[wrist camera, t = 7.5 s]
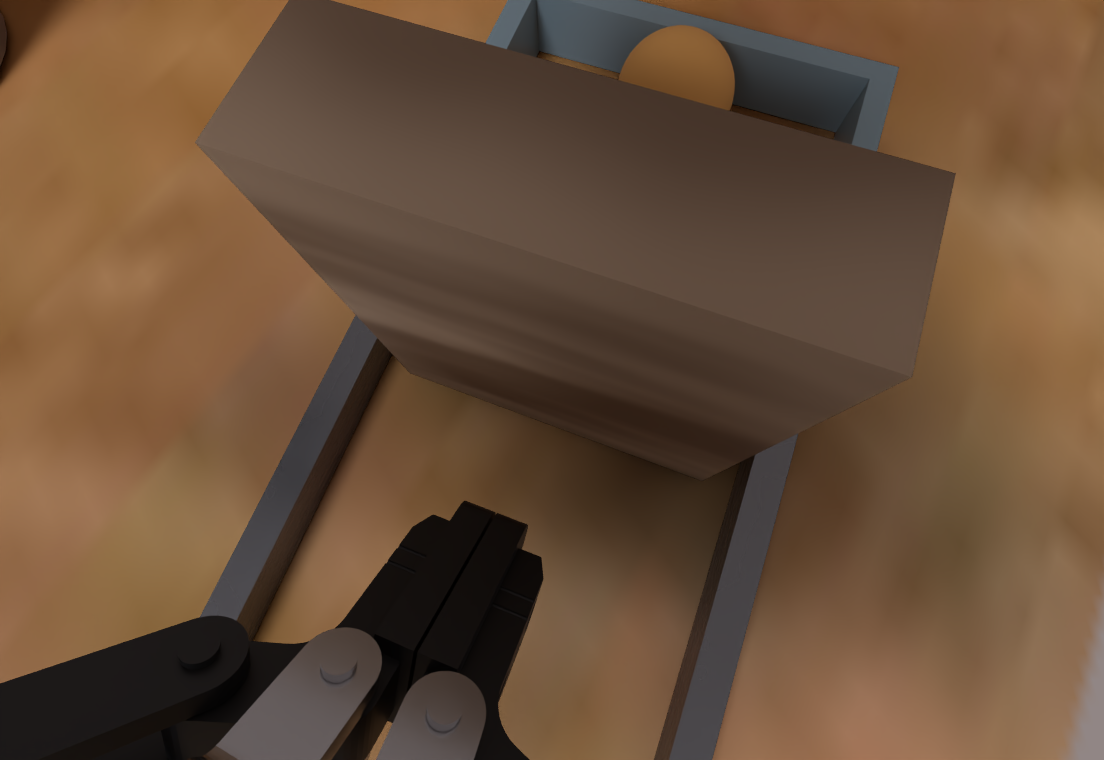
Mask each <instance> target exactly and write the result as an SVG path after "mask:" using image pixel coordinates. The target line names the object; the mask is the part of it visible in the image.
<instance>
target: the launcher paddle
mask: <svg viewBox="0 0 1104 760" xmlns="http://www.w3.org/2000/svg"><path fill="white" fill-rule="evenodd" d="M195 143H196V144H197V145H198V146H199V147H200V148H201V150H202V151H203V152H204V153H205V154H206V155H207V156H208V157H209V158H210V159H211V160H212V161H213V162H214V163H215V165H216V166H217V167H218V168H219V169H220V170H221V171H222V172H223V173H224V174H225V175H226V176H227V177H228V178H229V180H230V181H231V182H232V183H233V184H234V185H235V186H236V187H237V188H238V189H239V190H240V191H241V192H242V193H243V195H244V196H245V197H246V198H247V199H248V200H249V201H250V202H251V203H252V204H253V205H254V206H255V207H256V208H257V210H258V211H259V212H260V213H261V214H262V215H263V216H264V217H265V218H266V219H267V220H268V221H269V222H270V223H271V225H272V226H273V227H274V228H275V229H276V230H277V231H278V232H279V233H280V234H281V235H282V236H283V237H284V238H285V240H286V241H287V242H288V243H289V244H290V245H291V246H292V247H293V248H294V249H295V250H296V251H297V252H298V253H299V255H300V256H301V257H302V258H303V259H304V260H305V261H306V262H307V263H308V264H309V265H310V266H311V267H312V268H313V270H314V271H315V272H316V273H317V274H318V275H319V276H320V277H321V278H322V279H323V280H324V281H325V282H326V283H327V285H328V286H329V287H330V288H331V289H332V290H333V291H334V292H335V293H336V294H337V295H338V296H339V297H340V298H341V300H342V301H343V302H344V303H345V304H346V305H347V306H348V307H349V308H350V309H351V310H352V311H353V312H354V313H355V315H356V316H357V317H358V318H359V319H360V320H361V321H362V322H363V323H364V324H365V325H366V326H367V327H368V328H369V330H370V331H371V332H372V333H373V334H374V335H375V336H376V337H377V338H378V339H379V340H380V341H381V342H382V343H383V345H384V346H385V347H386V348H387V349H388V350H389V351H390V352H391V353H392V354H393V355H394V356H395V357H396V358H397V360H398V361H399V362H400V363H401V364H402V365H403V366H404V367H405V368H406V369H407V370H408V371H409V372H410V373H411V374H414V375H417V376H419V377H422V378H425V379H428V380H430V381H433V382H436V383H438V384H441V385H444V386H447V387H449V388H452V389H455V390H457V391H460V392H463V393H466V394H468V395H471V396H474V397H476V398H479V399H482V400H484V401H487V402H490V403H493V404H495V405H498V406H501V407H503V408H506V409H509V410H512V411H514V412H517V413H520V414H522V415H525V416H528V417H530V418H533V419H536V420H539V421H541V422H544V423H547V424H549V425H552V426H555V427H558V428H560V429H563V430H566V431H568V432H571V433H574V434H577V435H579V436H582V437H585V438H587V439H590V440H593V441H595V442H598V443H601V444H604V445H606V446H609V447H612V448H614V449H617V450H620V451H623V452H625V453H628V454H631V455H633V456H636V457H639V458H641V459H644V460H647V461H650V462H652V463H655V464H658V465H660V466H663V467H666V468H669V469H671V470H674V471H677V472H679V473H682V474H685V475H688V476H690V477H693V478H696V479H698V480H701V481H703V480H705V479H707V478H709V477H711V476H713V475H715V474H717V473H719V472H721V471H723V470H725V469H727V468H729V467H731V466H733V465H735V464H737V463H739V462H741V461H743V460H745V459H747V458H749V457H751V456H754V455H756V454H758V453H760V452H762V451H764V450H766V449H768V448H770V447H772V446H774V445H776V444H778V443H780V442H782V441H784V440H786V439H788V438H790V437H792V436H794V435H796V434H798V433H800V432H802V431H804V430H806V429H808V428H810V427H812V426H814V425H816V424H818V423H820V422H822V421H824V420H826V419H828V418H830V417H832V416H834V415H836V414H838V413H840V412H842V411H844V410H846V409H848V408H850V407H853V406H855V405H857V404H859V403H861V402H863V401H865V400H867V399H869V398H871V397H873V396H875V395H877V394H879V393H881V392H883V391H885V390H887V389H889V388H891V387H893V386H895V385H897V384H899V383H901V382H903V381H905V380H907V379H909V378H911V377H912V375H913V370H914V365H915V361H916V356H917V351H918V347H919V342H920V337H921V333H922V328H923V323H924V319H925V314H926V309H927V305H928V300H929V295H930V291H931V286H932V281H933V277H934V272H935V267H936V263H937V258H938V253H939V249H940V244H941V239H942V235H943V230H944V225H945V221H946V216H947V211H948V207H949V202H950V197H951V193H952V188H953V183H954V178H955V174H956V173H952V172H949V171H945V170H941V169H938V168H934V167H931V166H927V165H923V164H920V163H916V162H913V161H909V160H905V159H902V158H898V157H894V156H891V155H887V154H884V153H880V152H876V151H873V150H869V149H866V148H862V147H858V146H855V145H851V144H847V143H844V142H840V141H837V140H833V139H829V138H826V137H822V136H819V135H815V134H811V133H808V132H804V131H801V130H797V129H793V128H790V127H786V126H782V125H779V124H775V123H772V122H768V121H764V120H761V119H757V118H754V117H750V116H746V115H743V114H739V113H735V112H732V111H728V110H725V109H721V108H717V107H714V106H710V105H707V104H703V103H699V102H696V101H692V100H689V99H685V98H681V97H678V96H674V95H670V94H667V93H663V92H660V91H656V90H652V89H649V88H645V87H642V86H638V85H634V84H631V83H627V82H624V81H620V80H616V79H613V78H609V77H605V76H602V75H598V74H595V73H591V72H587V71H584V70H580V69H577V68H573V67H569V66H566V65H562V64H558V63H555V62H551V61H548V60H544V59H540V58H537V57H533V56H530V55H526V54H522V53H519V52H515V51H512V50H508V49H504V48H501V47H497V46H493V45H490V44H486V43H483V42H479V41H475V40H472V39H468V38H465V37H461V36H457V35H454V34H450V33H447V32H443V31H439V30H436V29H432V28H428V27H425V26H421V25H418V24H414V23H410V22H407V21H403V20H400V19H396V18H392V17H389V16H385V15H381V14H378V13H374V12H371V11H367V10H363V9H360V8H356V7H353V6H349V5H345V4H342V3H338V2H335V1H331V0H289V1H288V3H287V4H286V6H285V7H284V9H283V10H282V12H281V13H280V15H279V16H278V18H277V19H276V21H275V22H274V24H273V25H272V27H271V28H270V30H269V31H268V33H267V34H266V36H265V37H264V39H263V40H262V42H261V43H260V45H259V46H258V48H257V49H256V51H255V52H254V54H253V56H252V57H251V59H250V60H249V62H248V63H247V65H246V66H245V68H244V69H243V71H242V72H241V74H240V75H239V77H238V78H237V80H236V81H235V83H234V84H233V86H232V87H231V89H230V90H229V92H228V93H227V95H226V96H225V98H224V99H223V101H222V102H221V104H220V105H219V107H218V108H217V110H216V111H215V113H214V114H213V116H212V117H211V119H210V121H209V122H208V124H207V125H206V127H205V128H204V130H203V131H202V133H201V134H200V136H199V137H198V139H197V140H196V142H195Z"/></svg>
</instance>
